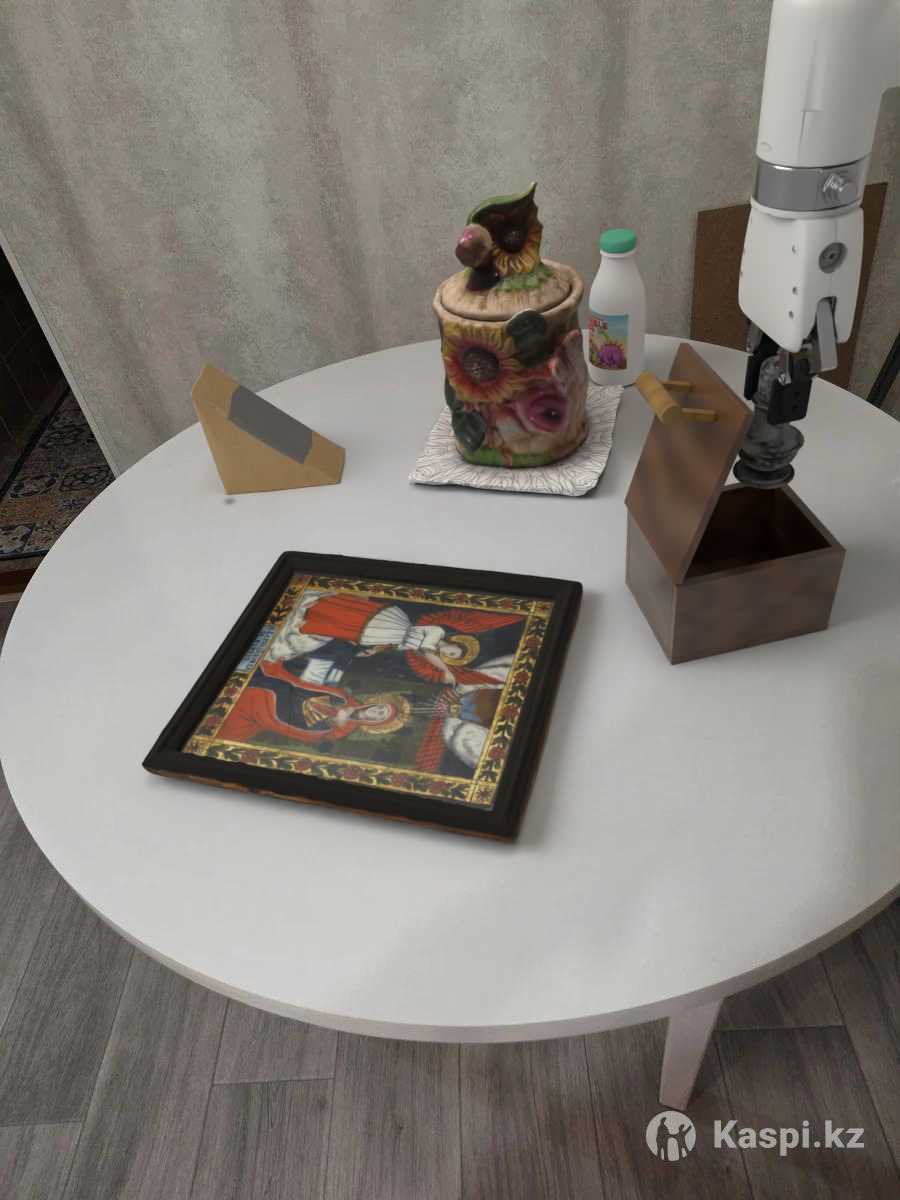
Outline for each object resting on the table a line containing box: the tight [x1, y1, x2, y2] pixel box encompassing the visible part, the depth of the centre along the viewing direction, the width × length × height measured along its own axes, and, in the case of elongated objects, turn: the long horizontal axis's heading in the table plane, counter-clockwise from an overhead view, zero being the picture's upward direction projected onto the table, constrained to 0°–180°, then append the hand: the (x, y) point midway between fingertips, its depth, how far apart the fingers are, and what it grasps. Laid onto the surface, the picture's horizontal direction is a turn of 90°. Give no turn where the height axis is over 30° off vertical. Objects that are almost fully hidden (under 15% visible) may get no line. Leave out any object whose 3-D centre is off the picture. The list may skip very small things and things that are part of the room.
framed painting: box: [141, 550, 584, 844], centre depth 84 cm, size 38×35×3 cm
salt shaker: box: [732, 348, 805, 489], centre depth 74 cm, size 6×6×12 cm
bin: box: [624, 481, 847, 666], centre depth 85 cm, size 16×13×10 cm
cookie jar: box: [408, 181, 624, 497], centre depth 104 cm, size 25×25×32 cm
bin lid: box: [623, 342, 755, 584], centre depth 75 cm, size 17×13×6 cm
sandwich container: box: [190, 361, 345, 495], centre depth 111 cm, size 9×15×15 cm, turn 90°
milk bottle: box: [588, 228, 647, 387], centre depth 118 cm, size 8×8×20 cm
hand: (773, 406), depth 73 cm, fingers closed on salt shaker, 3 cm apart
